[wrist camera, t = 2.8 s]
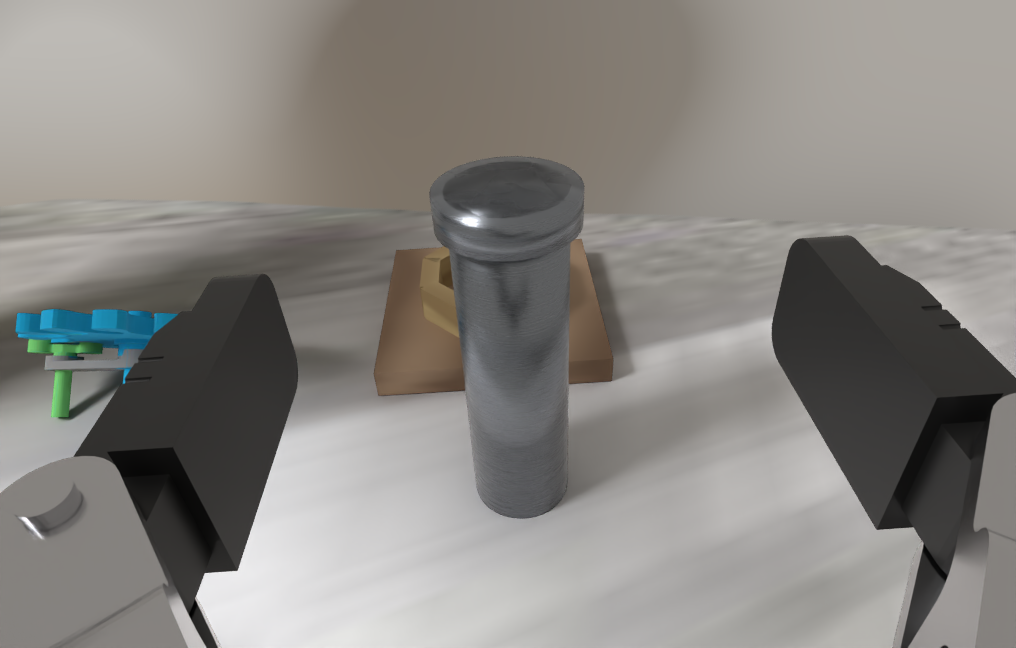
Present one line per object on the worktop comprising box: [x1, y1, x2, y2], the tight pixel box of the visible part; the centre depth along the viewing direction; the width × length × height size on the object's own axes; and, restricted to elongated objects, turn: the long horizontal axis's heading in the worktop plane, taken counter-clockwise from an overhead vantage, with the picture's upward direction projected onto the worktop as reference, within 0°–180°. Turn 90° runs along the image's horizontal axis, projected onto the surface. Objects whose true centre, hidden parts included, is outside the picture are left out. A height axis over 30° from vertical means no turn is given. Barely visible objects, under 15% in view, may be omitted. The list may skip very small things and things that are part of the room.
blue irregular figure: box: [16, 309, 178, 417], centre depth 32 cm, size 11×6×10 cm
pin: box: [430, 156, 584, 518], centre depth 24 cm, size 5×5×14 cm
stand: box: [374, 239, 613, 396], centre depth 37 cm, size 12×12×4 cm
